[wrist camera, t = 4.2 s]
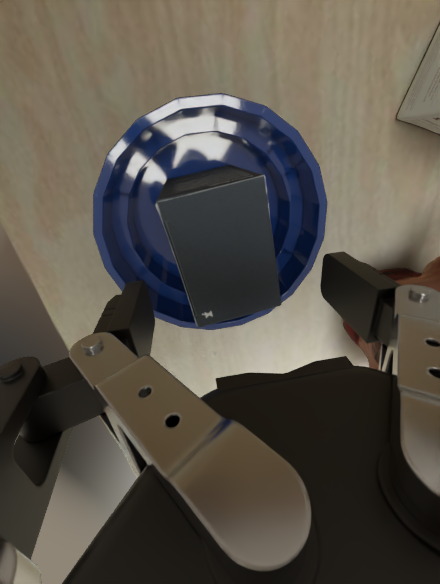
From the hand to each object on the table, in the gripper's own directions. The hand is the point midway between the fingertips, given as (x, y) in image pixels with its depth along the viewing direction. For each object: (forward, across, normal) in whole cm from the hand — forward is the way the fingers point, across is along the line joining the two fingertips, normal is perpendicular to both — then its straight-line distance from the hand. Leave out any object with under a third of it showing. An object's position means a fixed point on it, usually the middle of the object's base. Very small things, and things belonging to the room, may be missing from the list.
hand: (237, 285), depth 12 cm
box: (+14, 0, 0) cm, 14 cm away
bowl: (+14, 0, 0) cm, 14 cm away
